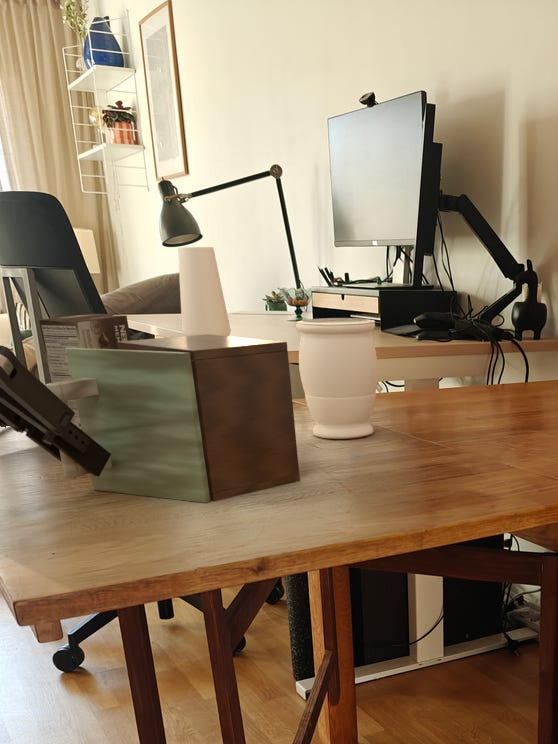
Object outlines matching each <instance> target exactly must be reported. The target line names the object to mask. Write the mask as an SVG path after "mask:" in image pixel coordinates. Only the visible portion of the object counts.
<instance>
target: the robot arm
mask: <svg viewBox="0 0 558 744" xmlns="http://www.w3.org/2000/svg"><path fill="white" fill-rule="evenodd" d="M74 415H75V413H74V411H72V410H71V409H70V408H69V407H68V406H67V405H66V404H65V403H64V402H63V401H62V400H60V399H59V398H58V397H57V396H56V395H55V394H54V393H53V392H52V391H51V390H49V389H48V388H47V387H46V384H45V383H43V382H42V381H41V380H40V379H39V378H38V377H37V376H35V374H33V373H32V372H31V371H30V370H29V369H28V368H27V367H26V366H24V365H23V363H22V362H21V361H20V360H19V359H18V357H17V355H15V353H14V352H13V351H12V350H11V349H10V348H9V347H7V346H4V345H1V344H0V426H1V427H6V426H10V427H9V428H11V429H12V430H13V431H14V432H16V433H19V434H20V433H21V434H24V433H26V434H25V437H27V438H28V439H30V441H32V442H33V443H35V444H37V445H38V446H39V447H40V448H42V449H43V450H45V451H46V452H47V453H48V454H50V455H51V456H52V457H54V458H55V459H57V460H58V461H59V462H60V463H62V461H61V456H60V451H59V449H60V450H61V451H62V452H64V453H65V454H66V455H67V456H69V457H70V458H71V459H73V460H74V461H75V462H77V463H78V464H79V465H81V466H82V467H83V468H85V469H86V470H87V471H89V472H90V473H91V474H93V475H94V476H100V474H101V472H102V470H103V469H104V467H105V465H106V463H107V461H108V459H109V458H110V456H111V453H109V452H108V451H107V450H106V449H104V448H103V447H102V446H101V445H99V444H98V443H97V442H96V441H94V440H93V439H92V438H91V437H89V436H88V435H87V434H86V433H84V432H83V431H82V430H81V429H79V428H78V427H77V426H76V425H75V424H73V423H72V422H71V420H72V418H73V416H74ZM91 474H90V475H91Z"/></svg>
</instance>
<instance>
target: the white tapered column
mask: <svg viewBox="0 0 558 744" xmlns="http://www.w3.org/2000/svg"><path fill="white" fill-rule="evenodd" d="M177 254H178V275H179V291H180V292H179V293H180V296H179V297H180V313H181V314H180V315H181V332H182V334H183V336H193V335H206V334H209V335H219V336H230V335H231V329H232V328H231V325H230V319H229V316H228V310H227V306H226V301H225V296H224V292H223V287H222V282H221V277H220V273H219V267H218V263H217V259H216V254H215V249H214V247H213V246H209V247H208V246H207V247H206V246H204V247H203V246H202V247H201V246H197V247H196V246H193V247H192V246H191V247H189V246H188V247H185V246H184V247H177Z"/></svg>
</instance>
